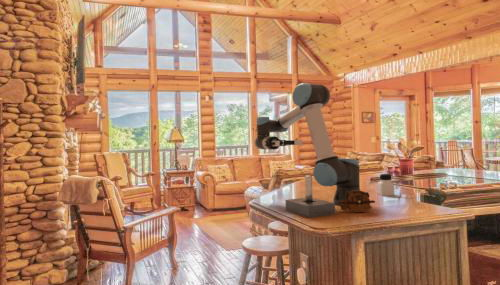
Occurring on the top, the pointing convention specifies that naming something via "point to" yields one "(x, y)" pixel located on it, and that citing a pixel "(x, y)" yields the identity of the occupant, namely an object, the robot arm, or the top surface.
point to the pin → (308, 188)
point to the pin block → (310, 207)
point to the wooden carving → (356, 201)
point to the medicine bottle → (385, 185)
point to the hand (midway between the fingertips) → (290, 143)
